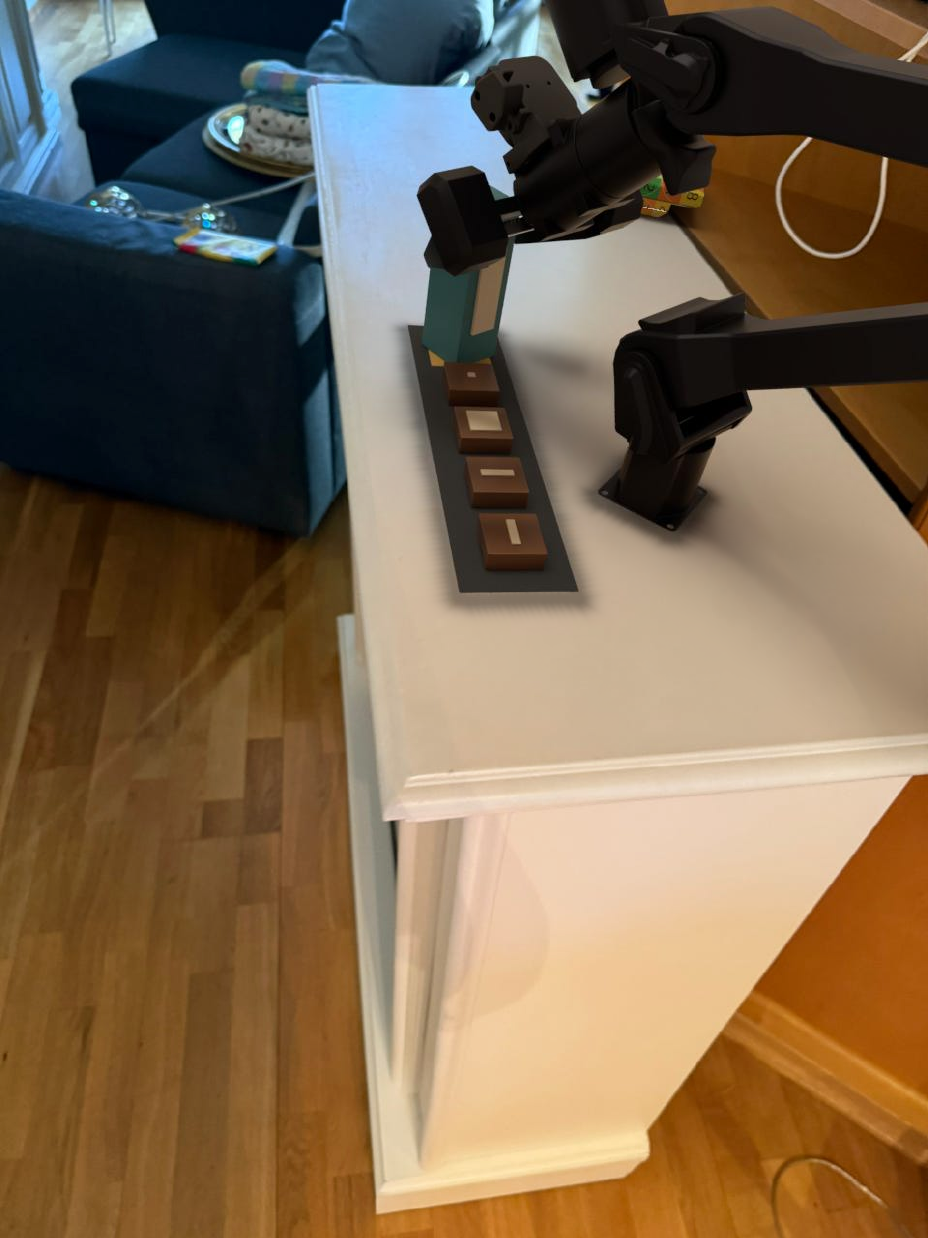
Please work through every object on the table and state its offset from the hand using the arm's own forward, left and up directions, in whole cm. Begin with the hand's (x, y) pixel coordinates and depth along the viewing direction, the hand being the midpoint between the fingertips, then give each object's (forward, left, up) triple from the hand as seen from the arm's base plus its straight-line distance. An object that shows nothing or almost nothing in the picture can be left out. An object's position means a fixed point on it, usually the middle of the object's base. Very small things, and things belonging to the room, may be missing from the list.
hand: (471, 248), depth 71 cm
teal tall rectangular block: (0, 0, -9) cm, 9 cm away
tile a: (-18, -17, -9) cm, 27 cm away
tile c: (-9, -9, -9) cm, 15 cm away
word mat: (-9, -9, -10) cm, 16 cm away
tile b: (-14, -13, -9) cm, 21 cm away
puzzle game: (+44, +8, -10) cm, 46 cm away
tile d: (-5, -4, -9) cm, 11 cm away
